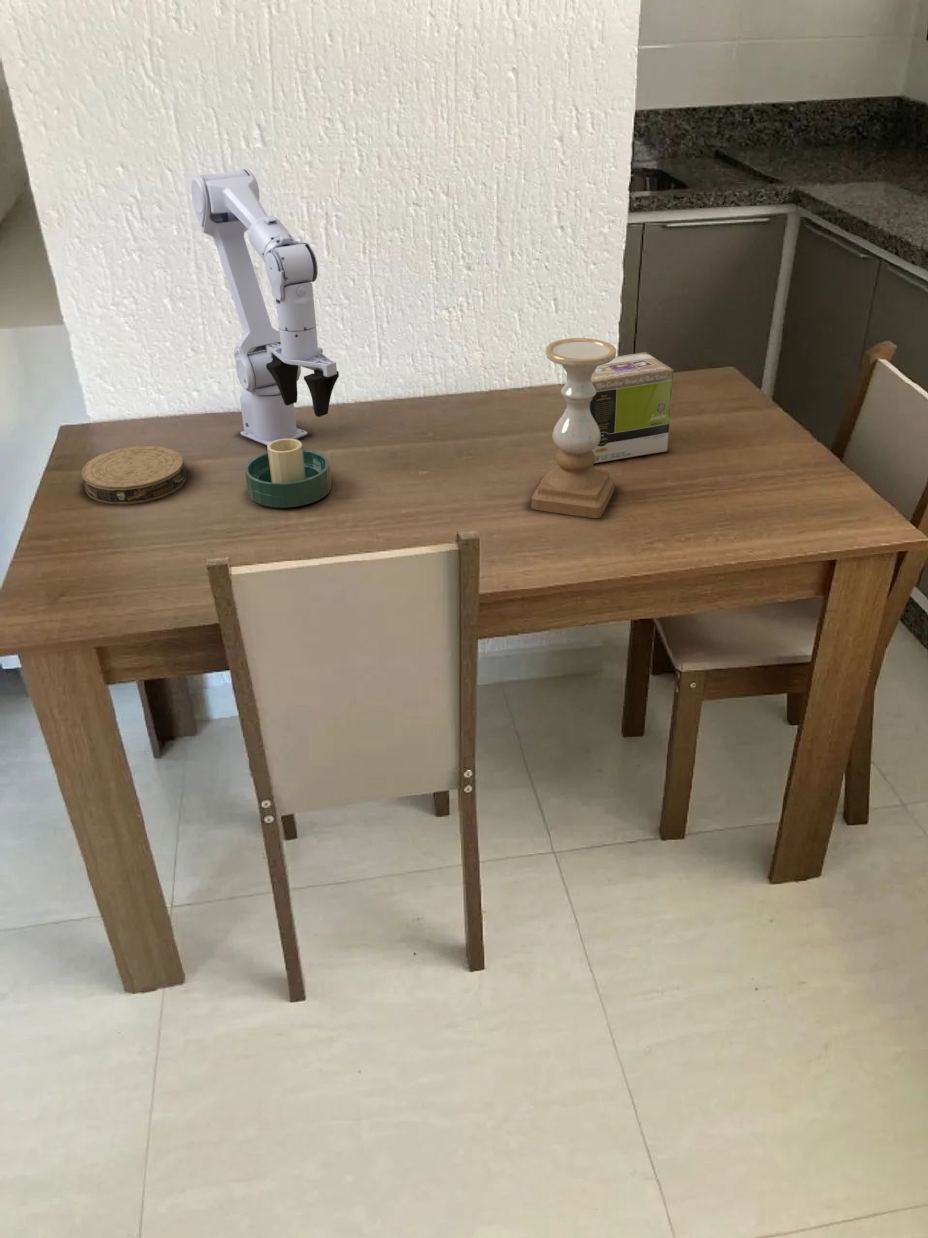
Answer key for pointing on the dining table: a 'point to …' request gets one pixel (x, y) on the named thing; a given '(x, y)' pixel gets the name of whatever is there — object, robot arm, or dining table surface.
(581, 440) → the candle holder
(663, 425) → the tea box
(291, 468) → the cup
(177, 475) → the round wood slice
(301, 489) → the bowl
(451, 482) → the dining table surface
